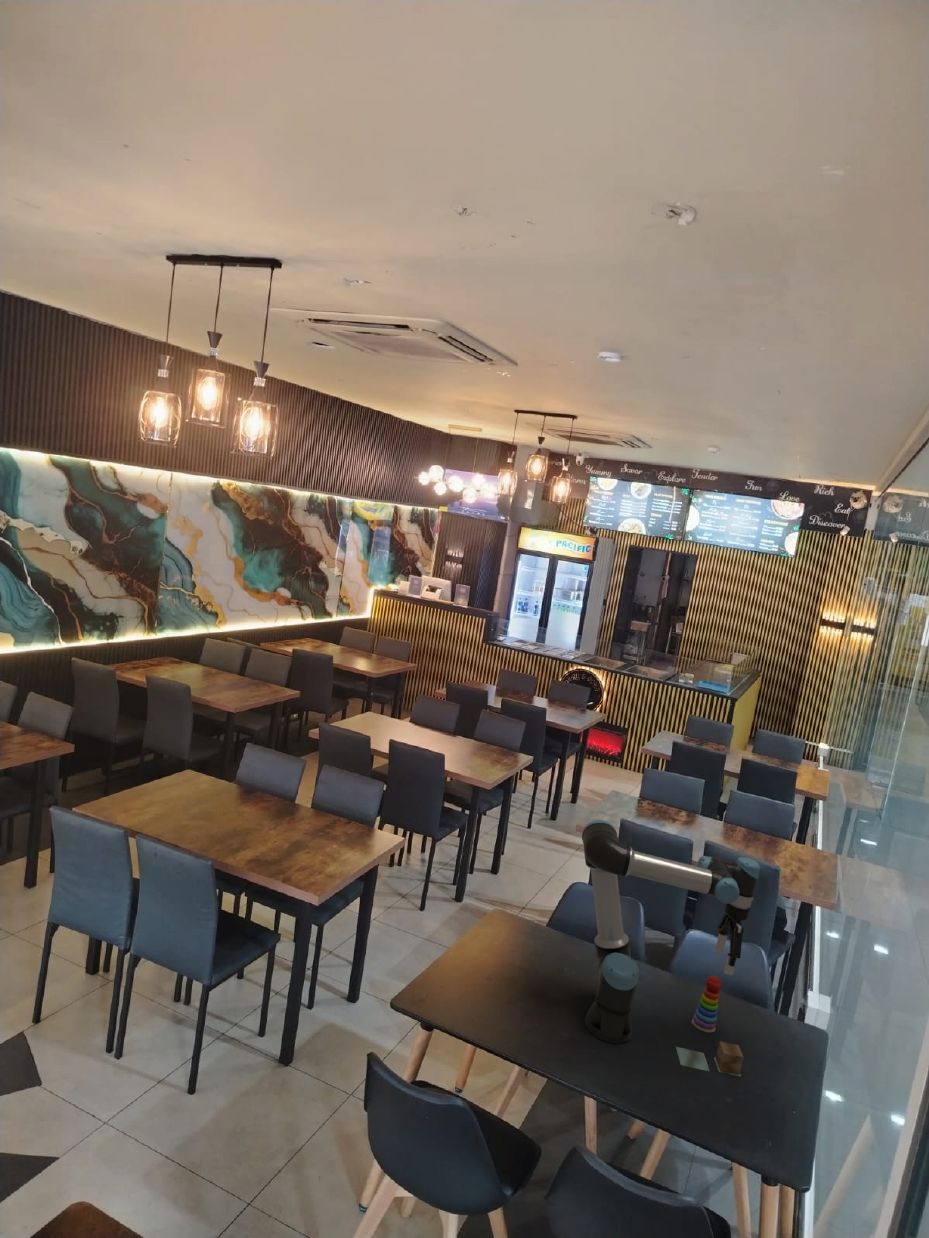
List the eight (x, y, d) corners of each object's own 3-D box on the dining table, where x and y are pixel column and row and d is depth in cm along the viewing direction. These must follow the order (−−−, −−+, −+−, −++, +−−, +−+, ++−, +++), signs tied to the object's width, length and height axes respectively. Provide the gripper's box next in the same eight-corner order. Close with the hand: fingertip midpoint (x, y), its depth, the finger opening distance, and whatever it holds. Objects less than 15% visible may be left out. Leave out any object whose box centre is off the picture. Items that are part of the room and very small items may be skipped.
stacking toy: (716, 1038, 268) (728, 986, 266) (692, 1031, 270) (703, 979, 268) (713, 1025, 276) (725, 974, 274) (690, 1018, 277) (701, 968, 275)
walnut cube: (720, 1070, 249) (724, 1052, 248) (715, 1058, 255) (719, 1041, 254) (739, 1075, 248) (743, 1057, 248) (734, 1062, 254) (738, 1045, 254)
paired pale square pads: (670, 1073, 245) (671, 1069, 245) (662, 1041, 261) (663, 1037, 261) (749, 1091, 243) (750, 1087, 243) (736, 1057, 259) (736, 1054, 259)
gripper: (760, 924, 255) (744, 985, 257) (740, 890, 280) (725, 946, 282) (736, 918, 256) (720, 980, 258) (718, 885, 280) (704, 941, 283)
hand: (723, 962), depth 270 cm, fingers open, 13 cm apart
